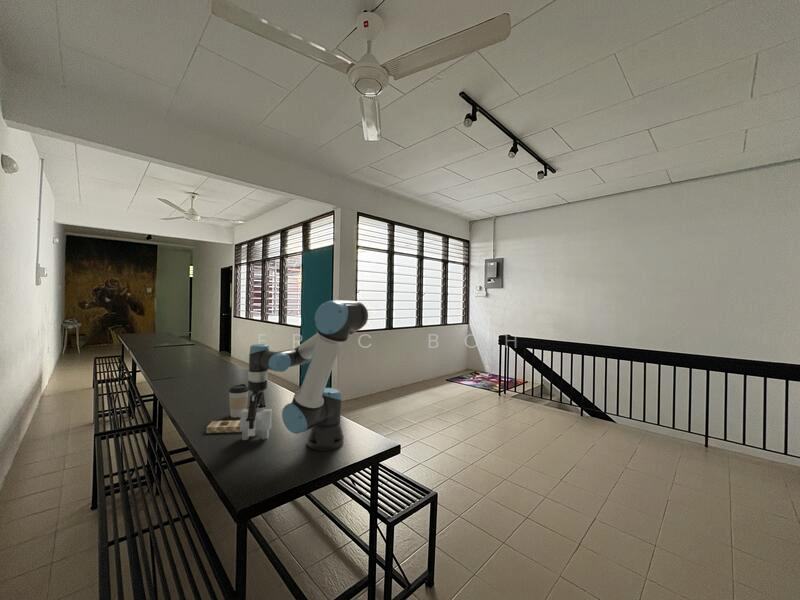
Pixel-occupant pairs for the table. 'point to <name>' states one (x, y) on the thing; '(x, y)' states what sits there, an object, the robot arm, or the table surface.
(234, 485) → the table surface
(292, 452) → the table surface
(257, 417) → the grey flat block
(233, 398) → the coffee cup
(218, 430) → the wooden ladder frame
